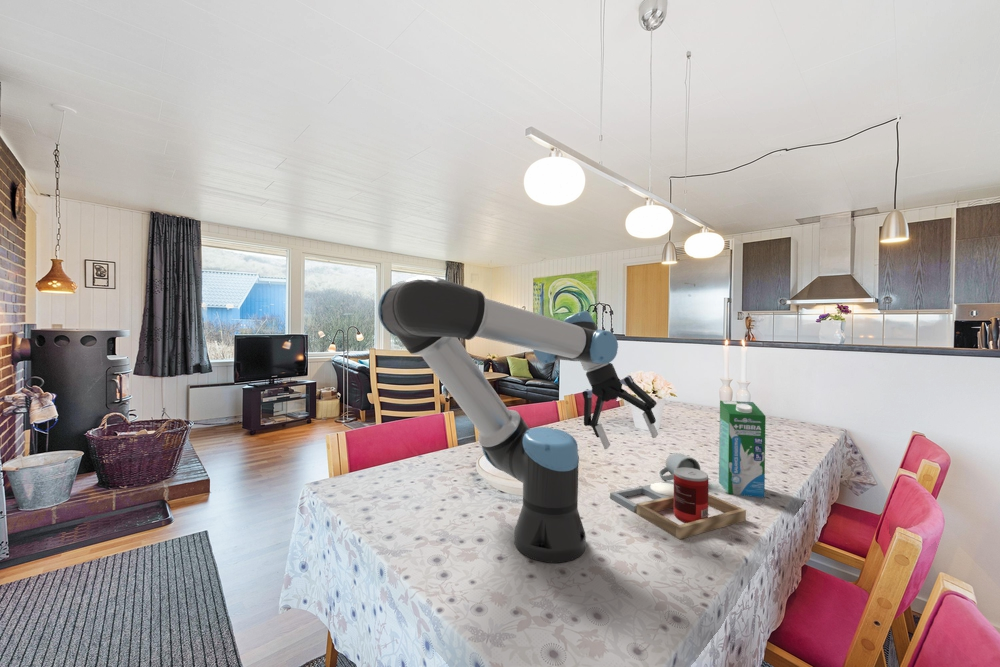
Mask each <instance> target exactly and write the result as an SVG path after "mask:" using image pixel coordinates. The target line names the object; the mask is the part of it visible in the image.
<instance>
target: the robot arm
mask: <svg viewBox="0 0 1000 667" xmlns="http://www.w3.org/2000/svg"><path fill="white" fill-rule="evenodd" d="M377 310H378V311H377V312H378V315H377V316H378V318H379V321H380V323H381V325H382V327H383V328H384V329H385V330H386V331H387V332H388V333H390V334H392V335H393V336H396V337H397V339H399V341H400V342H401V344H402V345H403V346H404V347H405V349H406V350H407V351H408V352H409V354H410V355H414V356H420V357H422V359H423V360H424V362H426V364H427V366H428V367H429V368H430V370H432V372H433V373H434V374H435V375H436V378H438V380H439V381H440V382H441V384H442V385H443V387H445V389H446V390H447V391H448V393H449V394H450V395H451V397H452V398H453V400H454V401H455V402H456V403H457V405H458V406H459V407H460V408H461V410H462V411H463V413H464V414H465V416H467V418H468V419H469V421H470V422H471V423H472V425H474V427H475V429H476V430H477V431H478V436H477V438H478V443H479V444H480V446H481V449H482V452H483V455H484V457H485V458H486V460H487V461H488V462H489V463H490V464H491V465H492V466H493V467H494V468H496V469H497V470H499V471H502V472H504V473H505V474H506V475H509V476H511V477H512V478H514V479H516V480H517V481H519V482H520V483H522V506H521V510H520V512H519V516H518V518H517V521H516V525H515V527H514V532H513V533H514V534H513V535H514V545H515V547H516V549H517V550H518V551H519V552H520V553H521V554H523V555H524V556H526V557H528V558H530V559H532V560H536V561H539V562H544V563H564V562H565V563H566V562H570V561H573V560H575V559H577V558H579V557H581V556H582V554H584V553H585V551H586V549H587V548H586V547H587V546H586V544H587V543H586V539H587V535H586V532H585V528H584V526H583V522H582V519H581V516H580V512H579V509H578V501H579V499H578V498H579V497H578V494H579V461H580V455H579V449H578V443H577V441H576V438H575V437H574V436H573V435H571V434H570V433H568V432H566V431H564V430H561V429H558V428H552V427H549V426H548V427H546V426H537V427H536V426H535V427H531V428H530V427H529V426H528V424H527V423H526V421H525V420H524V419H523V416H521V415H520V413H519V411H517V410H515V409H508V407H507V405H506V404H505V402H503V400H502V399H501V397H500V396H499V395H498V393H497V392H496V390H495V389H494V388H493V386H492V384H491V383H490V381H489V380H488V379H487V378H486V376H485V375H484V373H483V372H482V370H481V369H480V368H479V366H478V365H477V363H476V361H475V360H474V359H473V358H472V356H471V355H470V353H468V351H467V350H466V348H465V347H464V345H463V344H462V342H461V341H460V340H459V339H462V340H467V341H470V340H473V339H474V338H476V337H477V338H482V339H485V340H490V341H495V342H498V343H504V344H507V345H512V346H516V347H521V348H525V349H530V350H533V355H534V357H535V358H536V360H537V361H539V362H540V363H541V364H542V365H547V364H550V363H551V364H552V363H555V362H556V361H570V362H580V364H581V366H582V369H583V371H586V372H585V373H586V374H585V376H586V377H587V378H586V379H587V380H588V382H589V385H590V387H591V389H588V388H587V389H585V390H584V391H582V397H583V399H584V400H583V401H584V402H583V403H584V404H583V406H584V407H583V425H584V426H585V427H591V428H592V429H593V430H592V431H593V432H594V434H595V437H596V438H599V439H600V442H601V444H602V447H603V449H604V450H607V449H609V447H610V446H611V443H610V440H609V438H608V436H607V434H606V431H605V430H604V427H603V425H602V423H601V422H600V423H599V420H600V416H601V412H602V408H603V406H604V403H605V402H606V403H607V402H609V401H611V400H617V399H618V398H619V399H622V400H624V401H626V402H627V403H630V404H631V405H632V406H634V407H635V408H638V409H639V410H641V411H643V412H642V418H643V419H644V421H645V423H646V424H645V425H646V426H647V428H648V430H649V433H650V435H651V437H652V439H656V438H657V437H658V435H659V433H658V431H657V428H656V426H655V424H656V421H657V420H656V417H655V415H654V413H653V410H652V409H654V408H655V406H656V405H657V404H658V403H657V401H656V400H655V399H654V398H653V397H651V396H650V395H649V394H648V393H647V392H646V391H645V390H643V389H642V388H641V387H640V386H639V385H638V384H637V383H636V382H635V380H634V379H633V378H632V376H631V375H627V376H626V377H624V378H622V379H621V378H619V377H618V374H617V371H616V368H615V367H614V364H613V363H612V362H613V361H614V359H615V358H616V356H617V354H618V348H619V344H618V340H617V337H616V335H615V334H614V333H613V332H611V331H609V330H603V329H598V328H597V325H596V322H595V320H594V318H593V317H592V315H591V313H590V312H589V311H588V310H582V311H580V312H576V313H574V314H572V315H570V316H568V317H566V318H564V319H563V321H562V320H561V319H560V320H559V319H557V318H553V317H549V316H548V315H547V316H546V315H543V314H541V313H540V314H539V313H536V312H532V311H529V310H526V309H522V308H520V307H515V306H512V305H509V304H505V303H502V302H498V301H495V300H492V299H488V298H486V296H485V294H484V292H482V291H480V290H478V289H474V288H471V287H468V286H465V285H462V284H460V283H456V282H453V281H450V280H446V279H443V278H440V277H437V276H431V275H418V276H416V277H412V278H409V279H407V280H402V281H398V282H396V283H395V284H393V285H391V286H390V287H389V288H387V289H386V290H385V291H384V293H383V294H382V295H381V297H380V299H379V301H378V307H377ZM623 385H624V386H625V387H628V389H629V390H630V391H632V392H633V393H634V394H635V395H636V396H637V397H636V396H634V395H632V394H631V393H629V392H628V391H627V390H625V389H623ZM593 395H595V397H597V398H596V401H595V407H594V409H593V414H592V402H593V401H592V400H593V399H592V397H593ZM639 398H640V399H639Z"/></svg>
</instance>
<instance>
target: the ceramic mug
mask: <svg viewBox="0 0 1000 667" xmlns="http://www.w3.org/2000/svg"><path fill="white" fill-rule="evenodd" d="M682 467H687V468H694V469H698V470H701V466H700V464H699V461H697V459H695V458H693V457H691V456H689V455H685V454H684V453H680V452H679V453H678V452H673V453H671V454H669V455H668V456H667V457H666V461H665V467H664V468H662V469H660V471H659V477H660V479H661V478H662V480H663V481H671V480H674V470H675V469H677V468H682ZM667 473H670V474H668V475H665V474H667Z"/></svg>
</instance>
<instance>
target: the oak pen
mask: <svg viewBox="0 0 1000 667" xmlns="http://www.w3.org/2000/svg"><path fill="white" fill-rule="evenodd" d="M651 500H652V501H650V500H647V501H648V502H646V501H642V502H643V503H641V502H638V503H639V504H637V503H636V504H637V512H636V515H637V516H639V517H641V518H643V519H644V520H646V521H648V522H650V523H651V524H652V525H655V526H657V527H658V528H660V529H661V530H663V531H665V532H666V533H668V534H670V535H671V536H673V537H674V538H677V539H678V540H682V539H686V538H689V537H692V536H696V535H699V534H703V533H706V532H711V531H714V530H717V529H718V530H719V529H720V528H724V527H728V526H732V525H735V524H738V523H741V522H745V521H746V520H747V510H746V509H744V508H742V507H740V506H737V505H734V504H733V503H730V502H728V501H725V500H723V499H721V498H718V497H716V496H714V495H712V494H709V493H708V507H711V508H713V507H714V508H713V509H715V508H716V509H715V510H717V509H718V511H719V512H722V513H720V514H716V515H712V516H710V517H709V516H708V518H704V519H700V520H696V521H693V522H689V523H686V522H684V523H683V524H682V523H681V524H679V523H677V522H675V521H674V520H671V519H669V518H668V517H666V516H664V515H662V514H660V513H658V512H661V511H665V510H668V509H674V496H671V497H666V498H662V499H657V500H654V499H651Z"/></svg>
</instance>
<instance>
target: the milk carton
mask: <svg viewBox="0 0 1000 667" xmlns="http://www.w3.org/2000/svg"><path fill="white" fill-rule="evenodd" d="M760 409H761V408H759V407H758V406H757V404H755V403H754V402H753V401H737V400H735V401H734V400H719V441H718V443H719V446H718V449H719V451H718V452H719V453H718V454H719V455H718V456H719V457H718V460H719V461H718V483H719V485H720V486H722V488H723V489H724V490H725V491H726V493H727V494H728V495H734V494H735V496H736V495H737V496H744V495H745V496H747V497H755V496H756V497H757V498H765V494H766V493H765V492H766V491H765V490H766V489H765V488H766V486H765V484H766V482H765V480H766V476H765V475H766V422H767V421H766V419H767V418H766V415H765V413H763V411H762V410H760ZM745 496H744V497H745Z"/></svg>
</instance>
